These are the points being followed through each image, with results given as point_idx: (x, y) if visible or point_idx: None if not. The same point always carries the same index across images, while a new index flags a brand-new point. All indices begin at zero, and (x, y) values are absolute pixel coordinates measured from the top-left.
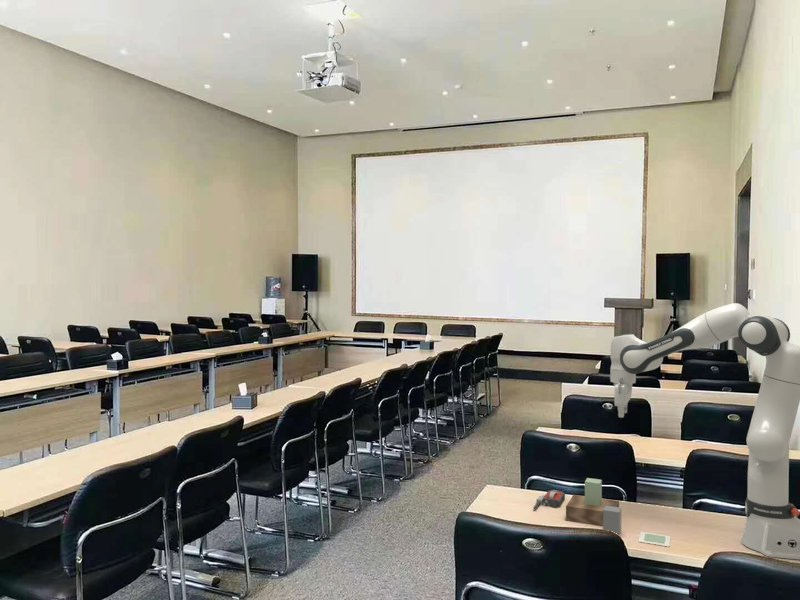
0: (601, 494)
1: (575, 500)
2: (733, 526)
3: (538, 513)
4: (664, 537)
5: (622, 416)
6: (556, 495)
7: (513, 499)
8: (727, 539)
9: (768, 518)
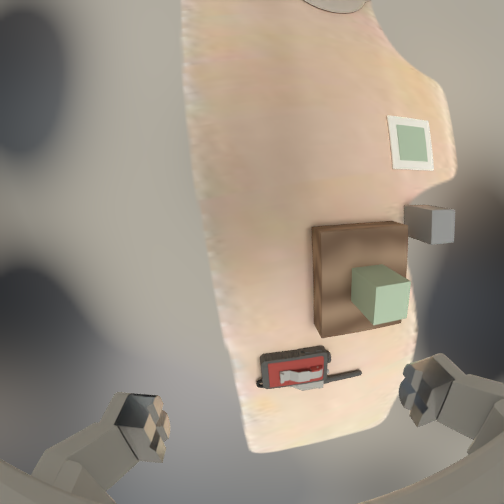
0: (364, 273)
1: (361, 320)
2: (253, 16)
3: (368, 360)
4: (401, 126)
5: (441, 363)
6: (296, 368)
7: (310, 414)
8: (336, 28)
9: None
